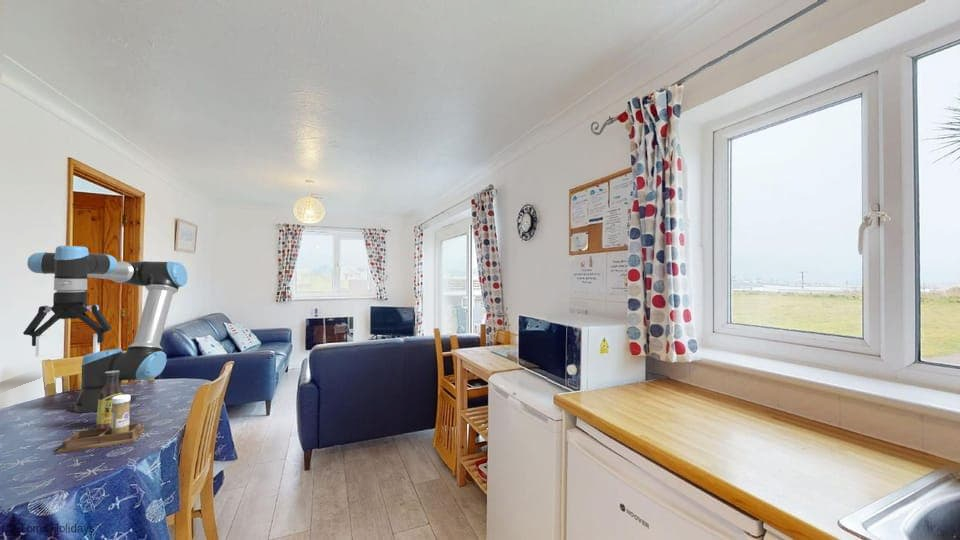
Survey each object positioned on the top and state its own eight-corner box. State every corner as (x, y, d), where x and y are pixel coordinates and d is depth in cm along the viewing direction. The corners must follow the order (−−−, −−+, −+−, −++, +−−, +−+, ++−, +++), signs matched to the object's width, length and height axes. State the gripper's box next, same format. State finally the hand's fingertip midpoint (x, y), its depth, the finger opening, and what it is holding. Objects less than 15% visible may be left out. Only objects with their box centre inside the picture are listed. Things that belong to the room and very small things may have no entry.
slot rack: (76, 438, 121) (77, 429, 121) (146, 428, 130) (146, 420, 130) (55, 454, 111) (56, 444, 111) (133, 442, 119) (133, 433, 119)
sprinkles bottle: (123, 438, 120) (124, 397, 121) (106, 439, 119) (107, 398, 120) (132, 432, 125) (134, 393, 125) (117, 433, 124) (118, 394, 124)
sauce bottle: (104, 430, 128) (106, 374, 128) (91, 428, 129) (93, 373, 130) (126, 423, 134) (127, 370, 135) (113, 421, 136) (114, 369, 136)
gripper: (8, 292, 113) (5, 359, 112) (115, 291, 124) (113, 352, 124) (24, 291, 119) (22, 354, 119) (124, 290, 131) (122, 348, 131)
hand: (68, 354), depth 121 cm, fingers open, 13 cm apart
